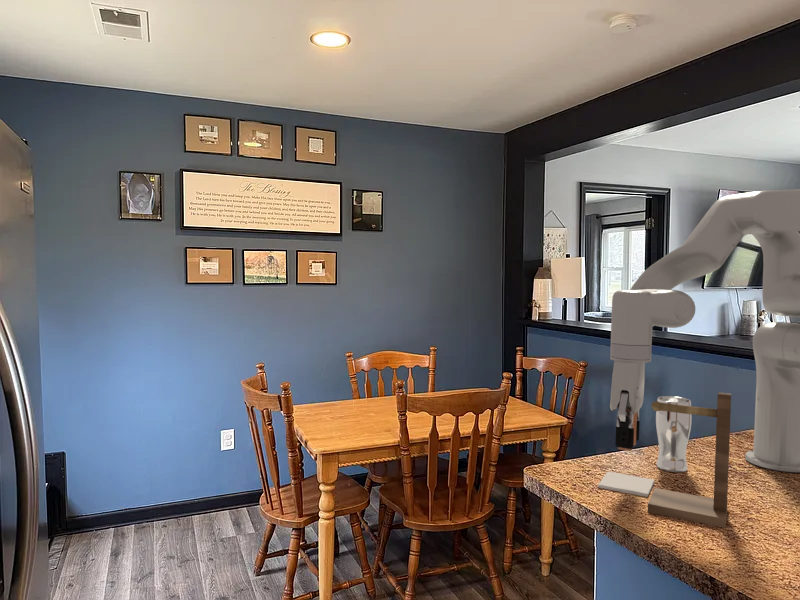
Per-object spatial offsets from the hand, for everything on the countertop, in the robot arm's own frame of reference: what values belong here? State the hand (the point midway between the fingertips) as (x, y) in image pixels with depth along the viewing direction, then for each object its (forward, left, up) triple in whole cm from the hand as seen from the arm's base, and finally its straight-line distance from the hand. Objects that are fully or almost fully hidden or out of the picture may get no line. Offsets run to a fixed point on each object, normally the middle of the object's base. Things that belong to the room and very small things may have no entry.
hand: (627, 442), depth 115 cm
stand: (+7, +12, -9) cm, 16 cm away
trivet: (0, 0, -9) cm, 9 cm away
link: (0, 0, -1) cm, 1 cm away
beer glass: (-17, +7, -9) cm, 20 cm away
